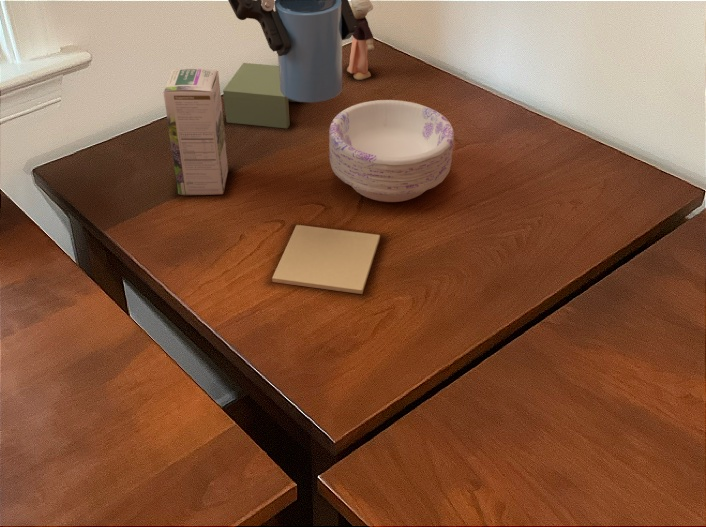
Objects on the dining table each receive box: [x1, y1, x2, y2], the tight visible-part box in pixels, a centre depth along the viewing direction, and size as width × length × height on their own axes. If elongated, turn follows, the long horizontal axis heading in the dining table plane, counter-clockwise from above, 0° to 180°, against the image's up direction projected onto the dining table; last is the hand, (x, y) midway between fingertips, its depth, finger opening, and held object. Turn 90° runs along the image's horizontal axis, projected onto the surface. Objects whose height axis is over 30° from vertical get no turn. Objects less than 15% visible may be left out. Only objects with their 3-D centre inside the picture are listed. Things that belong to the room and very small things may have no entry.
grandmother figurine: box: [346, 0, 375, 81], centre depth 124 cm, size 8×4×13 cm, turn 34°
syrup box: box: [163, 67, 229, 196], centre depth 100 cm, size 6×6×14 cm
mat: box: [271, 224, 381, 295], centre depth 92 cm, size 10×10×1 cm
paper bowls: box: [328, 99, 455, 203], centre depth 102 cm, size 15×15×8 cm
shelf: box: [222, 62, 303, 130], centre depth 117 cm, size 9×9×5 cm
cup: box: [274, 0, 344, 103], centre depth 81 cm, size 6×6×9 cm
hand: (317, 43), depth 79 cm, fingers closed on cup, 6 cm apart
